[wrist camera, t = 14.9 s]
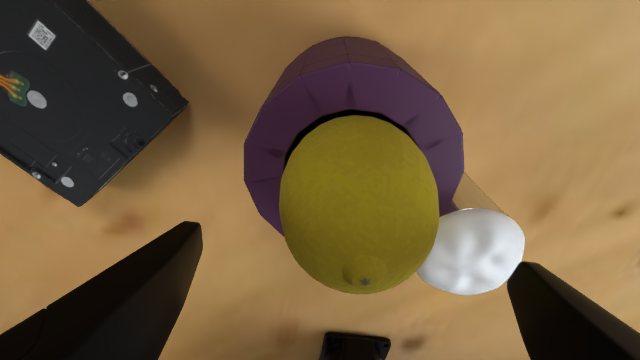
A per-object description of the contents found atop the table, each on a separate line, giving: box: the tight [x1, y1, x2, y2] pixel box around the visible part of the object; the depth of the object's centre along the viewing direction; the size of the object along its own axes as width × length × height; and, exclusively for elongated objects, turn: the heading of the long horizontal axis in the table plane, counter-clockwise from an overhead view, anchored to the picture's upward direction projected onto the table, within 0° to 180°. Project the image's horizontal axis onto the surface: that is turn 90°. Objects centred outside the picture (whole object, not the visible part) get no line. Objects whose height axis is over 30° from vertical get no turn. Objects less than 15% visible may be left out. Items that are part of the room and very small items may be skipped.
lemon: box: [279, 115, 439, 294], centre depth 11 cm, size 6×6×8 cm
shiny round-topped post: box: [416, 171, 525, 295], centre depth 16 cm, size 4×5×10 cm
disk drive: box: [0, 0, 189, 207], centre depth 16 cm, size 10×3×15 cm
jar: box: [244, 37, 464, 236], centre depth 15 cm, size 9×9×8 cm
